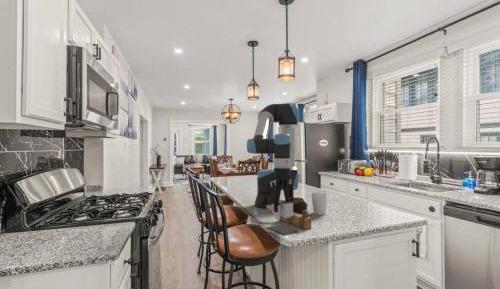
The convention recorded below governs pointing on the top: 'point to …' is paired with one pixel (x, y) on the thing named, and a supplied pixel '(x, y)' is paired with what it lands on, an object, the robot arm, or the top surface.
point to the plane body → (298, 220)
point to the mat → (282, 229)
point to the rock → (299, 205)
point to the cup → (319, 202)
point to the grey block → (284, 208)
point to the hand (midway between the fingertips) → (282, 217)
